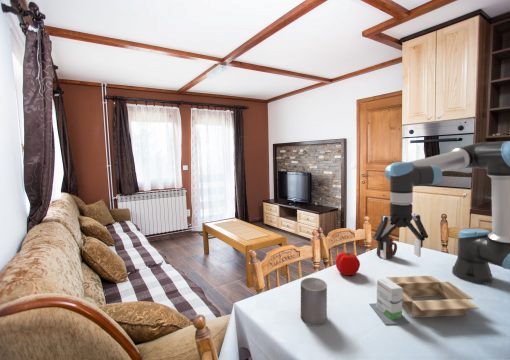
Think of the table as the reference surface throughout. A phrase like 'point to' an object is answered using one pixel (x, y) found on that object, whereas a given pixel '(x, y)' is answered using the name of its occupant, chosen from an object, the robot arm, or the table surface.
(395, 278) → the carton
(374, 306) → the mat
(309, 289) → the pillar candle
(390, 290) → the ink box
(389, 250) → the mug
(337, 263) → the tomato
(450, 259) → the table surface
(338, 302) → the table surface
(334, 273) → the table surface
